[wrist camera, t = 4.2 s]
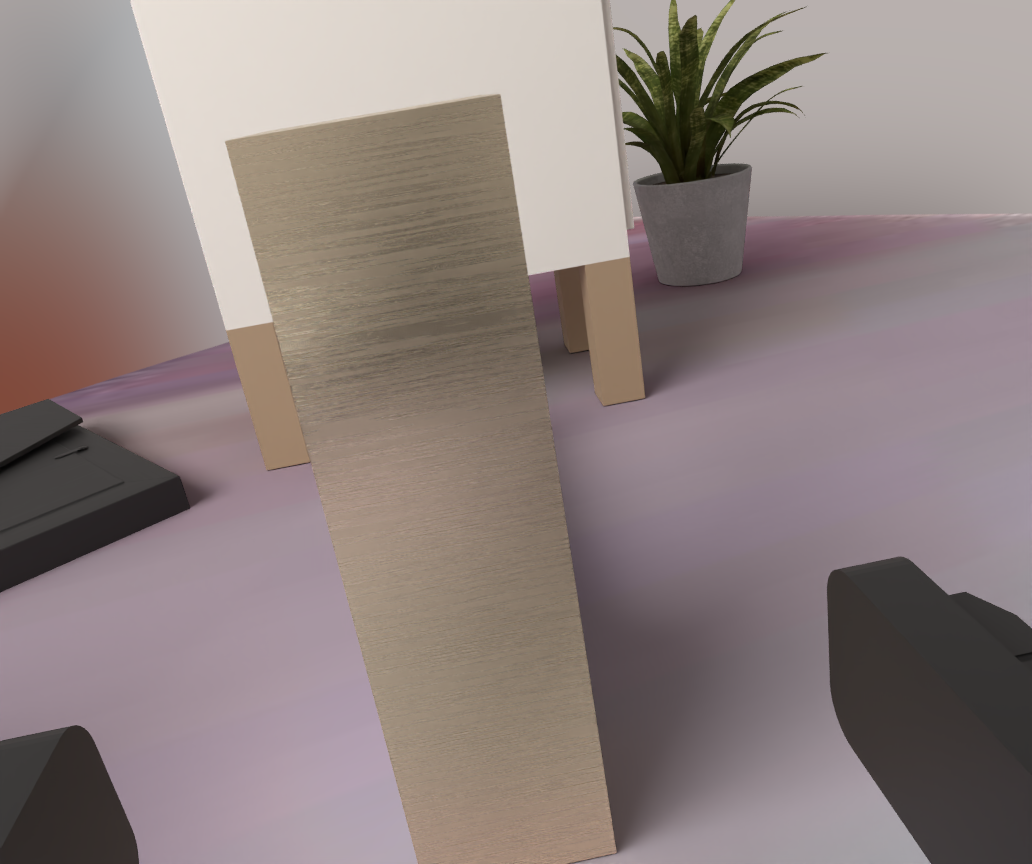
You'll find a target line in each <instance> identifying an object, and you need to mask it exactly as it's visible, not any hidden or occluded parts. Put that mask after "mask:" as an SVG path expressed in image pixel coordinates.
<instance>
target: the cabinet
mask: <svg viewBox="0 0 1032 864" xmlns="http://www.w3.org/2000/svg"><path fill="white" fill-rule="evenodd" d="M130 2H131V5H132V9H133V13H134V16H135V20H136V23H137V26H138V30H139V33H140V37H141V40H142V44H143V47H144V50H145V54H146V57H147V61H148V64H149V68H150V71H151V74H152V78H153V81H154V85H155V88H156V92H157V95H158V98H159V102H160V105H161V109H162V112H163V115H164V119H165V122H166V126H167V129H168V133H169V136H170V139H171V143H172V147H173V150H174V153H175V157H176V160H177V163H178V167H179V171H180V173H181V177H182V181H183V184H184V188H185V191H186V194H187V198H188V201H189V205H190V208H191V211H192V215H193V218H194V222H195V225H196V229H197V232H198V236H199V239H200V242H201V246H202V250H203V253H204V256H205V259H206V263H207V266H208V270H209V274H210V277H211V280H212V284H213V287H214V291H215V294H216V297H217V301H218V304H219V308H220V311H221V315H222V318H223V322H224V325H225V328H226V332H227V335H228V339H229V342H230V346H231V349H232V353H233V356H234V359H235V363H236V366H237V370H238V373H239V377H240V380H241V383H242V387H243V390H244V394H245V397H246V401H247V404H248V407H249V411H250V414H251V418H252V421H253V425H254V428H255V431H256V435H257V438H258V442H259V445H260V449H261V452H262V456H263V459H264V462H265V466H266V469H267V470H271V469H276V468H282V467H287V466H292V465H297V464H302V463H308V462H310V457H309V454H308V450H307V446H306V442H305V439H304V435H303V431H302V427H301V424H300V420H299V416H298V413H297V409H296V405H295V401H294V398H293V394H292V390H291V386H290V383H289V379H288V375H287V371H286V368H285V364H284V360H283V356H282V353H281V349H280V345H279V342H278V338H277V334H276V330H275V327H274V323H273V319H272V315H271V312H270V308H269V304H268V300H267V297H266V293H265V289H264V285H263V282H262V278H261V274H260V271H259V267H258V263H257V259H256V256H255V252H254V248H253V244H252V241H251V237H250V233H249V229H248V226H247V222H246V218H245V215H244V211H243V207H242V203H241V200H240V196H239V192H238V188H237V185H236V181H235V177H234V173H233V170H232V166H231V162H230V158H229V155H228V151H227V147H226V144H225V141H227V140H231V139H235V138H240V137H244V136H248V135H253V134H257V133H261V132H266V131H271V130H277V129H283V128H289V127H294V126H300V125H306V124H312V123H318V122H324V121H330V120H336V119H341V118H347V117H353V116H359V115H365V114H371V113H377V112H383V111H388V110H394V109H400V108H406V107H412V106H418V105H424V104H429V103H435V102H441V101H447V100H453V99H459V98H465V97H471V96H476V95H489V94H500V95H501V101H502V108H503V114H504V121H505V127H506V134H507V140H508V147H509V153H510V160H511V166H512V173H513V179H514V186H515V192H516V199H517V205H518V212H519V219H520V225H521V232H522V238H523V245H524V251H525V258H526V264H527V271H528V275H533V274H538V273H544V272H549V271H554V276H555V283H556V290H557V297H558V304H559V311H560V318H561V325H562V332H563V339H564V344H565V346H566V347H567V349H568V351H569V352H570V353H574V352H579V351H585V350H589V351H590V359H591V366H592V374H593V381H594V389H595V393H596V395H597V397H598V398H599V400H600V401H601V403H602V404H603V406H606V405H611V404H617V403H622V402H627V401H632V400H638V399H643V398H645V391H644V382H643V373H642V364H641V355H640V346H639V337H638V328H637V319H636V310H635V301H634V292H633V283H632V274H631V265H630V256H629V247H628V238H627V230H628V229H633V228H634V221H633V211H632V202H631V193H630V183H629V174H628V165H627V156H626V147H625V137H624V128H623V118H622V110H621V100H620V91H619V81H618V72H617V62H616V53H615V45H614V35H613V26H612V16H611V7H610V0H130Z"/></svg>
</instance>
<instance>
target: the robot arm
mask: <svg viewBox="0 0 1032 864" xmlns="http://www.w3.org/2000/svg"><path fill="white" fill-rule="evenodd" d="M827 602H828V633H829V664H830V688H831V695H832V700H833V705H834V708H835V712H836V715H837V718H838V721H839V724H840V726H841V729H842V731H843V733H844V735H845V737H846V739H847V741H848V743H849V744H850V746H851V747H852V749H853V750H854V752H855V753H856V755H857V756H858V758H859V759H860V761H861V762H862V764H863V765H864V766H865V768H866V769H867V771H868V772H869V774H870V775H871V777H872V778H873V780H874V781H875V782H876V784H877V785H878V787H879V788H880V790H881V791H882V793H883V794H884V796H885V797H886V799H887V800H888V801H889V803H890V804H891V806H892V807H893V809H894V810H895V812H896V813H897V815H898V816H899V818H900V819H901V820H902V822H903V823H904V825H905V826H906V828H907V829H908V831H909V832H910V834H911V835H912V836H913V838H914V839H915V841H916V842H917V844H918V845H919V847H920V848H921V850H922V851H923V853H924V854H925V855H926V857H927V858H928V860H929V861H930V863H931V864H1032V628H1031V627H1030V626H1028V625H1027V624H1026V623H1025V622H1024V621H1022V620H1021V619H1020V618H1019V617H1018V616H1017V615H1015V614H1013V613H1011V612H1008V611H1006V610H1004V609H1002V608H1000V607H997V606H995V605H993V604H991V603H989V602H986V601H984V600H982V599H980V598H978V597H975V596H973V595H971V594H969V593H967V592H962V593H958V594H953V595H948V594H946V593H945V592H944V591H943V590H942V589H941V588H940V587H939V586H938V585H937V584H936V583H934V582H933V581H932V580H931V579H930V578H929V577H928V576H927V575H926V574H925V573H924V572H923V571H921V570H920V569H919V568H918V567H917V566H916V565H915V564H914V563H913V562H911V561H910V560H909V559H907V558H905V557H895V558H891V559H886V560H881V561H876V562H871V563H867V564H862V565H857V566H852V567H847V568H842V569H838V570H834V571H832V572H831V574H830V576H829V579H828V584H827ZM0 864H139V858H138V849H137V843H136V840H135V836H134V833H133V830H132V828H131V826H130V823H129V821H128V819H127V816H126V814H125V812H124V809H123V807H122V805H121V802H120V800H119V798H118V795H117V793H116V791H115V789H114V786H113V784H112V782H111V779H110V777H109V775H108V772H107V770H106V768H105V765H104V763H103V761H102V758H101V756H100V754H99V751H98V749H97V747H96V745H95V742H94V740H93V738H92V737H91V735H90V734H89V732H88V731H87V730H86V729H85V728H83V727H81V726H77V725H75V726H70V727H65V728H60V729H55V730H51V731H46V732H41V733H36V734H31V735H26V736H22V737H17V738H12V739H7V740H2V741H0Z"/></svg>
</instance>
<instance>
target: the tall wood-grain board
mask: <svg viewBox="0 0 1032 864" xmlns="http://www.w3.org/2000/svg"><path fill="white" fill-rule="evenodd" d="M225 144H226V147H227V151H228V155H229V158H230V162H231V166H232V170H233V173H234V177H235V181H236V185H237V188H238V192H239V196H240V200H241V203H242V207H243V211H244V215H245V218H246V222H247V226H248V229H249V233H250V237H251V241H252V244H253V248H254V252H255V256H256V259H257V263H258V267H259V271H260V274H261V278H262V282H263V285H264V289H265V293H266V297H267V300H268V304H269V308H270V312H271V315H272V319H273V323H274V327H275V330H276V334H277V338H278V342H279V345H280V349H281V353H282V356H283V360H284V364H285V368H286V371H287V375H288V379H289V383H290V386H291V390H292V394H293V398H294V401H295V405H296V409H297V413H298V416H299V420H300V424H301V427H302V431H303V435H304V439H305V442H306V446H307V450H308V454H309V457H310V461H311V465H312V469H313V472H314V476H315V480H316V484H317V487H318V491H319V495H320V498H321V502H322V506H323V510H324V513H325V517H326V521H327V525H328V528H329V532H330V536H331V540H332V543H333V547H334V551H335V554H336V558H337V562H338V566H339V569H340V573H341V577H342V581H343V584H344V588H345V592H346V596H347V599H348V603H349V607H350V611H351V614H352V618H353V622H354V625H355V629H356V633H357V637H358V640H359V644H360V648H361V652H362V655H363V659H364V663H365V667H366V670H367V674H368V678H369V682H370V685H371V689H372V693H373V696H374V700H375V704H376V708H377V711H378V715H379V719H380V723H381V726H382V730H383V734H384V738H385V741H386V745H387V749H388V752H389V756H390V760H391V764H392V767H393V771H394V775H395V779H396V782H397V786H398V790H399V794H400V797H401V801H402V805H403V809H404V812H405V816H406V820H407V823H408V827H409V831H410V835H411V838H412V842H413V846H414V850H415V853H416V857H417V861H418V864H568V863H573V862H577V861H582V860H587V859H591V858H596V857H600V856H605V855H610V854H614V853H617V851H616V845H615V838H614V832H613V825H612V819H611V812H610V806H609V799H608V793H607V786H606V780H605V773H604V767H603V760H602V754H601V747H600V741H599V734H598V728H597V721H596V714H595V708H594V701H593V695H592V688H591V682H590V675H589V669H588V662H587V656H586V649H585V643H584V636H583V630H582V623H581V617H580V610H579V604H578V597H577V590H576V584H575V577H574V571H573V564H572V558H571V551H570V545H569V538H568V532H567V525H566V519H565V512H564V506H563V499H562V493H561V486H560V480H559V473H558V467H557V460H556V453H555V447H554V440H553V434H552V427H551V421H550V414H549V408H548V401H547V395H546V388H545V382H544V375H543V369H542V362H541V356H540V349H539V343H538V336H537V329H536V323H535V316H534V310H533V303H532V297H531V290H530V284H529V277H528V271H527V264H526V258H525V251H524V245H523V238H522V232H521V225H520V219H519V212H518V205H517V199H516V192H515V186H514V179H513V173H512V166H511V160H510V153H509V147H508V140H507V134H506V127H505V121H504V114H503V108H502V101H501V95H500V94H489V95H476V96H471V97H465V98H459V99H453V100H447V101H441V102H435V103H429V104H424V105H418V106H412V107H406V108H400V109H394V110H388V111H383V112H377V113H371V114H365V115H359V116H353V117H347V118H341V119H336V120H330V121H324V122H318V123H312V124H306V125H300V126H294V127H289V128H283V129H277V130H271V131H266V132H261V133H257V134H253V135H248V136H244V137H240V138H235V139H231V140H227V141H225Z"/></svg>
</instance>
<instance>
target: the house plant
mask: <svg viewBox="0 0 1032 864" xmlns="http://www.w3.org/2000/svg"><path fill="white" fill-rule="evenodd" d="M734 1H735V0H730V2H729V3H728V4H727V5H726V6H725V7H724V8H723V9H722V11H721V12H720V14H719V15H718V16H717V18H716V19H715V20H714V22H713V23H712V25H711V26H710V28H709V29H708V31H707V33H706V35H705V37H704V39H703V40H702V38H703V31H702V29H701V28H700V29H698V30H697V16H696V15H694V16H693V17H692V18H690V19H688V20H687V22H686V23H685V25H684V26H683V28H682V30H681V29H680V26H679V22H678V16H677V4H676V0H671V4H670V9H669V27H668V29H669V48H670V70H671V74H670V70H669V66H668V61H667V57H666V54H665V52H664V51H661V52H659V53H657V58H656V63H655V61H654V59H653V58H652V56H651V53H650V52H649V50H648V49H647V47H646V46H645V44H644V43H643V42H642V41H641V40H640V39H639V38H638V36H637V35H635V34H633V33H632V32H631V31H629V30H626V29H623V28H618V27H613V29H617V30H621V31H624V32H627V33H629V34H630V35H631V36H633V37H634V38H635V39H636V40H637V41H638V42H639V44H640V45H641V46H642V47H643V48H644V50H645V51H646V53H647V55H648V56H649V58H650V60H651V62H652V64H653V66H654V68H655V70H656V72H657V74H656V73H655V72H654V70H653V69H652V68H651V67H650V66H649V65H648V63H647V62H646V61H645V60H643V59H642V58H641V57H640V56H638V55H637V54H635V53H632V52H630V51H628V50H626V49H624V50H625V52H626V54H627V56H628V57H629V58H630V59H631V60H632V61H633V62H634V65H635V68H636V70H637V72H638V74H639V75H640V77H641V78H642V80H643V81H644V82H645V84H646V85H647V87H648V89H649V91H650V93H651V96H652V99H653V102H654V104H653V102H652V100H651V99H650V97H649V96H648V94H647V93H646V91H645V89H644V88H643V86H642V85H641V83H640V81H639V80H638V78H637V76H636V74H635V73H634V72H633V71H632V70H631V68H630V67H629V66H628V65H627V64H626V63H625V62H624V61H623V60H622V59H621V58H620V57H618V56H617V55H616V62H617V71H618V72H619V73H620V75H621V76H622V77H623V78H624V79H625V80H626V82H627V83H628V84H629V86H630V87H631V88H632V90H633V91H634V92H635V94H636V95H635V94H634V93H633V92H632V91H631V90H630V89H629V88H628V86H627V85H626V84H624V83H623V82H622V81H621V80H620V79H618V81H619V85H620V86H621V87H622V88H623V89H624V90H625V91H626V92H627V93H628V94H629V95H630V96H631V97H632V99H633V100H634V101H635V102H636V104H637V105H638V107H639V108H640V109H641V111H642V112H643V114H644V115H645V117H646V119H647V120H648V121H647V120H646V119H644V118H643V117H641V116H639V115H638V114H635V113H633V112H622V118H623V123H624V124H627V125H629V126H632V127H634V128H624V129H626V130H628V131H631V132H633V133H634V134H635V135H636V136H638V137H639V138H640V139H641V140H642V141H643V142H644V143H643V142H628V143H625V145H634V146H638V147H641V148H643V149H645V150H646V151H648V152H649V153H650V154H651V155H652V156H653V157H654V158H655V159H656V160H657V162H658V163H659V165H660V168H661V171H662V173H657V174H653V175H650V176H646V177H643V178H640V179H638V180H636V181H634V183H633V185H634V189H635V192H636V196H637V200H638V204H639V208H640V211H641V215H642V219H643V223H644V227H645V230H646V234H647V238H648V242H649V246H650V249H651V253H652V257H653V261H654V264H655V268H656V272H657V276H658V279H659V282H661V283H662V284H666V285H673V286H692V285H703V284H710V283H715V282H720V281H724V280H727V279H730V278H733V277H735V276H737V275H739V274H740V273H741V271H742V263H743V253H744V242H745V232H746V222H747V212H748V202H749V191H750V182H751V171H752V167H751V166H750V165H748V164H735V163H734V164H717V163H718V162H719V160H720V158H721V157H722V156H723V154H724V153H725V152H726V150H727V149H728V148H729V146H730V145H731V144H732V142H733V141H734V140H735V139H736V137H737V136H738V135H739V134H740V132H741V131H742V130H743V129H744V128H745V127H746V126H747V124H748V123H749V122H750V121H751V120H752V119H753V118H754V117H756V116H758V115H762V114H764V113H771V112H787V113H793V112H791V111H789V110H787V109H785V108H768V109H764V110H761V111H759V110H760V109H761V108H762V107H763V106H764V105H768V104H784V105H788V106H791V107H794V108H796V109H799V108H798V107H797V106H795V105H793V104H790V103H786V102H780V101H769V100H770V99H772V98H773V97H775V96H776V95H778V94H780V93H782V92H784V91H787V90H791V89H795V88H798V87H795V88H790V89H787V90H784V91H781V92H780V93H778V94H776V95H774V96H773V97H772V98H770V99H769V100H768V101H766V102H762V103H758V104H754V105H752V106H750V107H748V108H747V109H745V110H744V111H742V112H741V113H740V114H739V115H738V116H737V117H736V118H735V119H734V118H733V117H734V116H735V114H736V112H737V110H738V109H739V107H740V106H741V104H742V103H743V102H744V101H745V100H747V99H748V98H749V97H750V96H751V95H752V94H753V93H755V92H756V91H758V90H759V89H761V88H762V87H764V86H766V85H768V84H769V83H771V82H773V81H775V80H776V79H778V78H779V77H781V76H782V75H784V74H785V73H787V72H788V71H790V70H791V69H793V68H794V67H796V66H799V65H802V64H805V63H808V62H810V61H813V60H815V59H817V58H819V57H820V56H822V55H823V54H825V53H821V54H816V55H811V56H806V57H799V58H795V59H792V60H789V61H785V62H782V63H779V64H776V65H773V66H771V67H769V68H766V69H764V70H762V71H759V72H757V73H756V74H754V75H751V76H749V77H747V78H746V79H744V80H742V81H741V82H739V83H738V84H736V85H735V86H733V87H732V88H730V89H729V91H728V92H726V93H723V91H724V88H725V86H726V84H727V82H728V80H729V78H730V76H731V74H732V72H733V70H734V69H735V68H736V66H737V65H738V63H739V62H740V60H741V59H742V57H743V56H744V55H745V53H746V52H747V51H748V50H749V48H750V47H751V46H752V44H753V43H755V42H756V41H757V40H759V39H761V38H763V37H765V36H767V35H771V34H774V33H778V32H781V31H777V32H772V33H768V34H765V35H763V36H761V37H759V38H757V39H756V37H757V36H758V35H759V33H760V32H761V30H762V29H763V28H764V27H766V26H767V25H768V24H769V23H770V22H772V21H774V20H776V19H778V18H780V17H783V16H785V15H787V14H790V13H792V12H795V11H797V10H795V11H792V12H789V13H786V14H784V15H781V14H782V13H781V14H779V15H777V16H775V17H773V18H772V19H770V20H768V21H767V22H765V23H764V24H762V25H760V26H758V27H757V28H755V29H754V30H752V31H751V32H749V33H747V34H746V35H745V36H744V37H743V38H742V39H741V40H740V41H739V42H737V43H736V44H735V45H734V46H733V47H732V48H731V49H730V51H729V52H728V53H727V55H726V56H725V57H724V59H723V60H722V61H721V63H720V65H719V66H718V68H717V69H716V71H715V73H714V74H713V76H712V78H711V80H710V82H709V84H708V85H707V87H706V89H705V91H704V93H703V95H702V96H701V98H700V100H699V97H700V90H701V83H702V76H703V71H704V65H705V61H706V58H707V55H708V53H709V50H710V47H711V45H712V42H713V40H714V38H715V35H716V33H717V30H718V28H719V26H720V24H721V22H722V19H723V18H724V16H725V15H726V13H727V12H728V10H729V9H730V7H731V6H732V4H733V3H734ZM801 9H803V8H801ZM798 10H800V9H798ZM780 15H781V16H780ZM778 16H779V17H778ZM746 39H747V40H746ZM755 39H756V40H755ZM745 40H746V41H745ZM744 41H745V42H744ZM743 42H744V44H743V45H742V46H741V47H740V45H741V44H742V43H743ZM739 47H740V49H739V50H738V51H737V53H736V54H735V55H734V57H733V58H732V60H731V61H730V62H729V60H730V59H731V57H732V56H733V54H734V53H735V52H736V50H737V49H738V48H739ZM728 62H729V64H728V65H727V63H728ZM726 65H727V67H726ZM725 67H726V68H725ZM724 68H725V70H724ZM723 70H724V72H723V73H722V71H723ZM721 73H722V75H721V77H720V79H719V81H718V82H717V84H716V87H715V90H714V92H713V95H712V97H710V98H708V96H709V94H710V92H711V90H712V88H713V86H714V84H715V82H716V81H717V79H718V77H719V76H720V74H721ZM800 87H801V86H800ZM673 92H674V96H675V100H676V105H677V108H676V115H675V107H674V98H673ZM722 96H723V97H722ZM637 97H638V98H637ZM720 97H722V98H721V100H720ZM719 100H720V101H719ZM707 103H709V105H708V106H707V109H706V111H705V113H704V109H703V107H704V105H706V104H707ZM759 106H761V107H760V108H759V109H758V111H757V112H755V113H753V114H751V115H749V116H747V117H745V118H743V119H741V120H739V119H740V118H741V117H742V116H743V115H744V114H745V113H747V112H749V111H750V110H752V109H753V108H756V107H759ZM799 110H800V109H799ZM795 115H796V114H795ZM749 119H750V120H749ZM738 120H739V121H738ZM747 120H749V122H748V123H747V124H746V125H745V126H744V127H743V129H742V130H741V131H740V132H739V133H738V135H737V136H736V137H735V138H734V139H733V141H732V142H731V143H730V144H729V146H728V147H727V148H726V149H725V151H724V152H723V153H722V155H721V156H720V158H719V155H720V152H721V150H722V147H723V145H724V142H725V140H726V137H727V135H728V134H729V135H730V137H731V131H732V130H733V129H734V128H735V127H737V126H738V125H740V124H741V123H743V122H745V121H747ZM737 121H738V122H737ZM725 130H726V131H725ZM724 132H725V133H724ZM723 133H724V136H723V138H722V139H721V141H720V142H719V140H720V138H721V137H722V135H723ZM718 142H719V144H718ZM717 144H718V145H717ZM716 146H717V147H716ZM715 148H716V149H715ZM716 152H717V154H716V158H715V162H714V165H712V161H713V157H714V155H715V153H716Z"/></svg>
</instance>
